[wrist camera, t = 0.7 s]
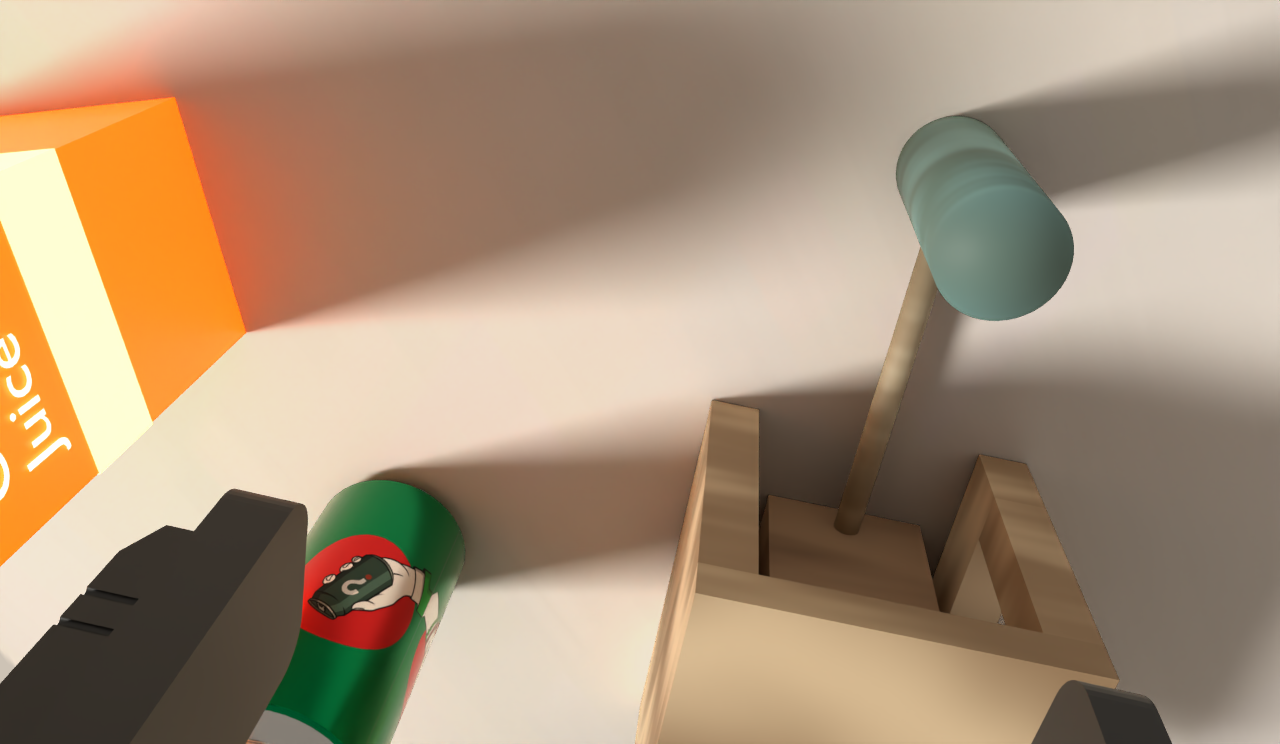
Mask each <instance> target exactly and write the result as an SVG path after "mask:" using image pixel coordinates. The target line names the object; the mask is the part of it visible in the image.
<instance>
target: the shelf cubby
mask: <svg viewBox="0 0 1280 744" xmlns="http://www.w3.org/2000/svg"><path fill="white" fill-rule="evenodd" d="M932 581H933V585H934V589H935V594H936V598H937V602H938V607H939V611H940V612H938V611H934V610H929V609H924V608H919V607H914V606H909V605H904V604H900V603H895V602H890V601H885V600H880V599H875V598H870V597H865V596H861V595H856V594H851V593H846V592H841V591H836V590H831V589H826V588H822V587H817V586H812V585H807V584H802V583H797V582H792V581H788V580H783V579H778V578H773V577H768V576H763V575H759V409H754V408H749V407H744V406H739V405H734V404H729V403H724V402H719V401H714V400H712V402H711V406H710V410H709V415H708V419H707V423H706V428H705V432H704V436H703V440H702V445H701V449H700V453H699V457H698V462H697V466H696V470H695V474H694V479H693V483H692V487H691V492H690V496H689V500H688V504H687V509H686V513H685V517H684V521H683V526H682V530H681V534H680V538H679V543H678V547H677V551H676V555H675V560H674V564H673V568H672V573H671V577H670V581H669V585H668V590H667V594H666V598H665V602H664V607H663V611H662V615H661V619H660V624H659V628H658V632H657V636H656V641H655V645H654V649H653V654H652V658H651V662H650V666H649V671H648V675H647V679H646V683H645V688H644V692H643V696H642V700H641V705H640V711H639V718H638V725H637V732H636V740H635V744H1031V743H1032V741H1033V739H1034V737H1035V735H1036V733H1037V731H1038V730H1039V728H1040V726H1041V724H1042V722H1043V720H1044V718H1045V716H1046V714H1047V712H1048V710H1049V708H1050V706H1051V704H1052V702H1053V700H1054V698H1055V696H1056V694H1057V693H1058V691H1059V689H1060V688H1061V687H1062V686H1063V685H1064V684H1065V683H1066V682H1068V681H1070V680H1077V681H1081V682H1086V683H1090V684H1095V685H1099V686H1104V687H1108V688H1112V689H1115V688H1116V686H1117V684H1118V682H1119V678H1118V676H1117V673H1116V671H1115V669H1114V666H1113V664H1112V662H1111V659H1110V657H1109V655H1108V652H1107V650H1106V648H1105V645H1104V643H1103V641H1102V638H1101V636H1100V634H1099V631H1098V629H1097V627H1096V624H1095V622H1094V620H1093V617H1092V615H1091V613H1090V610H1089V608H1088V606H1087V604H1086V601H1085V599H1084V597H1083V594H1082V592H1081V590H1080V587H1079V585H1078V583H1077V580H1076V578H1075V576H1074V573H1073V571H1072V569H1071V566H1070V564H1069V562H1068V559H1067V557H1066V555H1065V552H1064V550H1063V548H1062V545H1061V543H1060V541H1059V538H1058V536H1057V534H1056V531H1055V529H1054V527H1053V524H1052V522H1051V520H1050V517H1049V515H1048V513H1047V510H1046V508H1045V506H1044V503H1043V501H1042V499H1041V496H1040V494H1039V492H1038V490H1037V487H1036V485H1035V483H1034V480H1033V478H1032V476H1031V473H1030V471H1029V469H1028V466H1027V464H1024V463H1019V462H1014V461H1009V460H1004V459H999V458H994V457H990V456H985V455H980V454H979V456H978V459H977V462H976V464H975V467H974V470H973V472H972V475H971V478H970V480H969V483H968V486H967V488H966V491H965V494H964V496H963V499H962V502H961V504H960V507H959V510H958V512H957V515H956V518H955V521H954V523H953V526H952V529H951V531H950V534H949V537H948V539H947V542H946V545H945V547H944V550H943V553H942V555H941V558H940V561H939V563H938V566H937V569H936V571H935V574H934V577H933V579H932ZM1001 614H1002V615H1003V619H1004V622H1005V625H1002V624H997V623H998V621H999V619H1000V616H1001Z"/></svg>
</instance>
